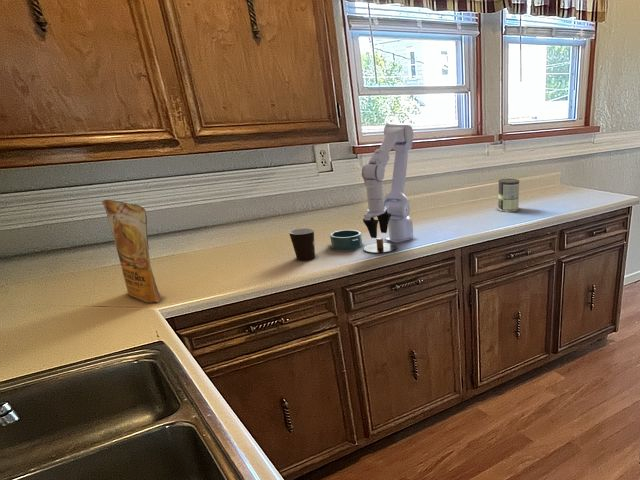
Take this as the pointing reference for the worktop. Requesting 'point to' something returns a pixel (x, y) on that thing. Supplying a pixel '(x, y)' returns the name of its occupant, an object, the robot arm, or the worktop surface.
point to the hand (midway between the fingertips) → (378, 235)
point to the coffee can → (508, 195)
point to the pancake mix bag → (133, 248)
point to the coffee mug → (303, 243)
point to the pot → (346, 240)
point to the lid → (380, 247)
